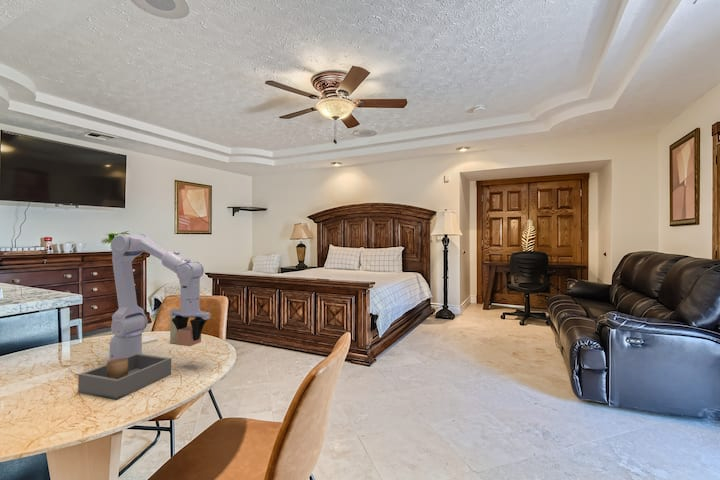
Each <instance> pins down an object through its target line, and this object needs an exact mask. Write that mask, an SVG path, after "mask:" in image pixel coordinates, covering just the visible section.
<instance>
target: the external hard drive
mask: <svg viewBox="0 0 720 480" xmlns="http://www.w3.org/2000/svg"><path fill="white" fill-rule="evenodd" d="M156 342H158V338H157V337H154V336H152V335H144V336H143V335H142V346H143V345H147V344H151V343H156Z"/></svg>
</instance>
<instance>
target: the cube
mask: <svg viewBox="0 0 720 480" xmlns="http://www.w3.org/2000/svg"><path fill="white" fill-rule="evenodd" d="M200 343H202V334H201V335H200V338H199V339H198V340H196V341H193V330H192V325H187V327H185V328H182V329H179V330H178V344H177V346H183V347H192V346H194V345H197V344H200Z"/></svg>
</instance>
